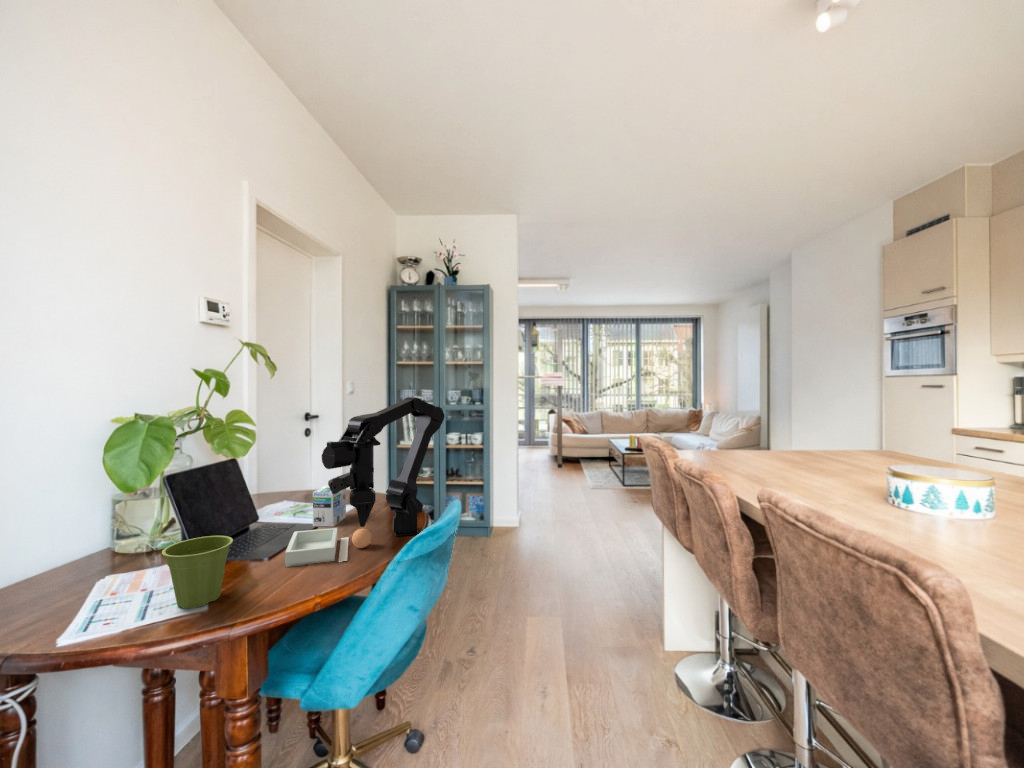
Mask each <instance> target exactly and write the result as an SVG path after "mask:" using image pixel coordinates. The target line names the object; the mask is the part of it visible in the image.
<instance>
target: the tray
mask: <svg viewBox="0 0 1024 768" xmlns="http://www.w3.org/2000/svg"><path fill="white" fill-rule="evenodd" d="M337 545H338V527H332V528H321V529H319V528H318V529H310V530H298V531H293V533H292V536H291V537H290V540H289V542H288V545H287V547H286V549H285V552H284V559H285V560H284V567H285V568H287V567H296V566H297V567H299V566H306V565H305V564H308V565H314V564H313V563H317V564H321V563H320V562H326V563H330V562H329V561H334V562H335V558H336V554H337V553H336V551H337Z"/></svg>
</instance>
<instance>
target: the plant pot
mask: <svg viewBox="0 0 1024 768" xmlns="http://www.w3.org/2000/svg"><path fill="white" fill-rule="evenodd" d="M233 542H234V539H233V538H232V537H230V536H227V535H209V536H208V535H207V536H201V537H200V536H199V537H195V538H190V539H186V540H182V541H178V542H176V543H173V544H170V545H168V546H166V547H165V548H163V549H162V550H161V555H163V557H165V560H166V561H165V562H166V565H167V567H168V569H169V574H170V576H171V581H172V587H173V591H174V592H173V593H174V597H175V601H176V605H177V606H178V607H181V608H183V607H184V608H183V609H193V608H194V609H195V608H199V607H203V606H205V605H208V603H210V602H215V601H216V600H218V599H219V598H220V597H221V593H222V587H223V580H224V575H225V570H226V564H227V558H228V555H229V553H230V547H231V545H232V544H233Z"/></svg>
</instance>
